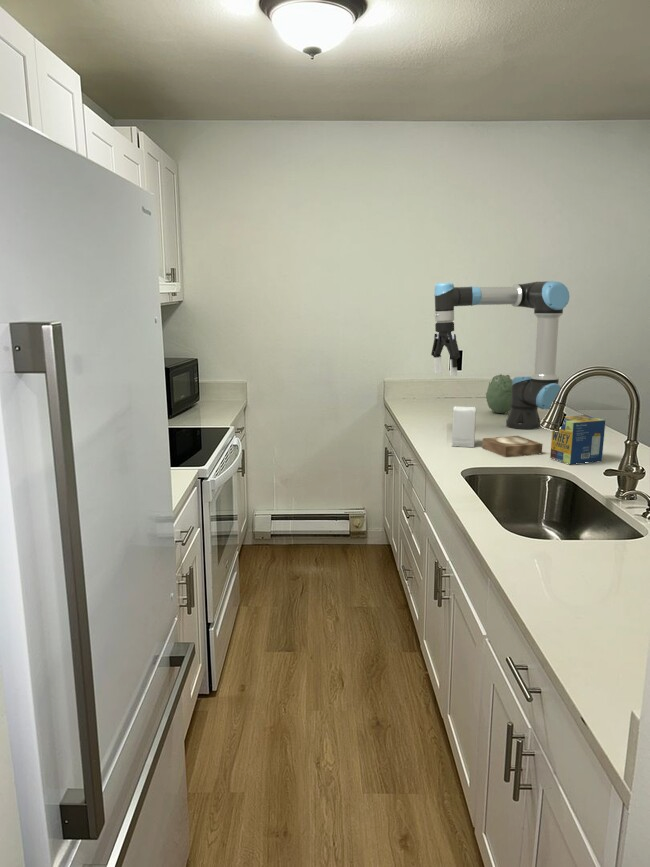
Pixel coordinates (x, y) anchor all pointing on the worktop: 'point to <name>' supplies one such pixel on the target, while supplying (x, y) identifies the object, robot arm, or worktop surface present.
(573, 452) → the protein box
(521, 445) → the pedestal
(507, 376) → the cabbage
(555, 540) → the worktop surface
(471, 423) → the supplement box
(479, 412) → the worktop surface
